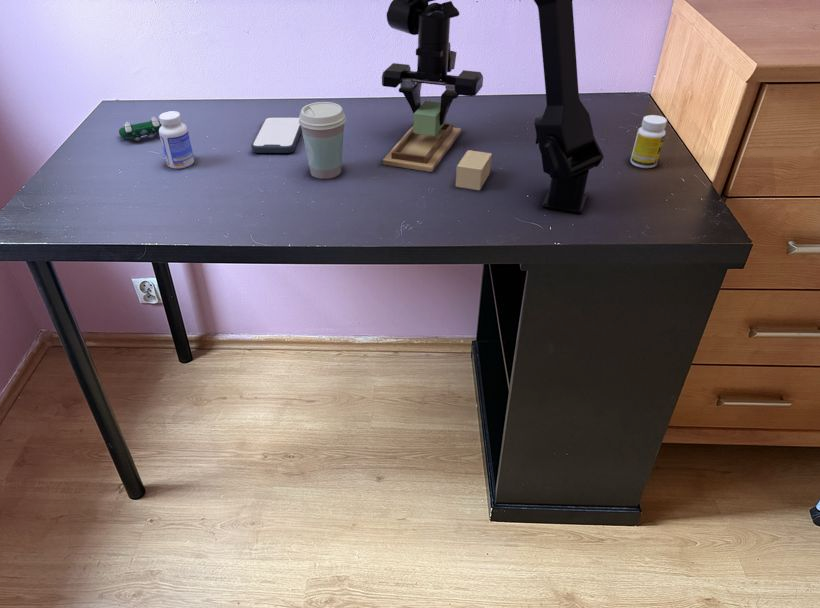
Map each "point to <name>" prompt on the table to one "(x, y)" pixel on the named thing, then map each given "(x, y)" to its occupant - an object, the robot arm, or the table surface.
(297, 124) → the phone case
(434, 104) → the green rectangular block
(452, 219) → the table surface
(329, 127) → the coffee cup
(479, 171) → the beige rectangular block
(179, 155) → the pill bottle
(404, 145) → the wooden tray
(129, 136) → the green toy car
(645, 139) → the supplement bottle
